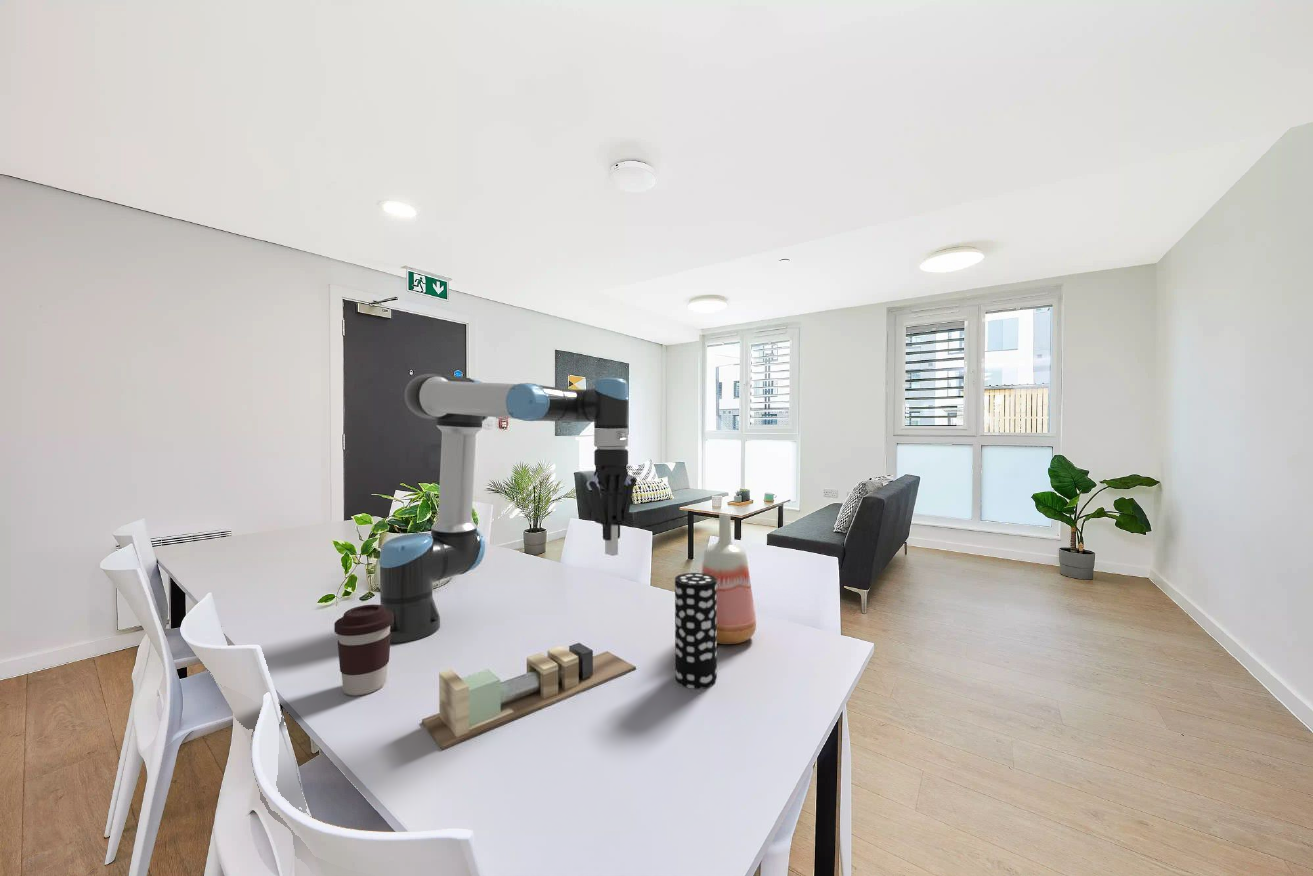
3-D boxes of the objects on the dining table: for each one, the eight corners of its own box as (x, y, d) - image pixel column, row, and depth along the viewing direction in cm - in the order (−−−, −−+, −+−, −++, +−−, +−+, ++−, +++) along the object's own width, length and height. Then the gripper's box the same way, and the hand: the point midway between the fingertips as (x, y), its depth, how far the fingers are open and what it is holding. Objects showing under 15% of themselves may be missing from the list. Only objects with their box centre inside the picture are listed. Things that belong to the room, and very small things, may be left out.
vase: (687, 644, 114) (687, 517, 114) (705, 622, 128) (705, 508, 128) (749, 654, 109) (749, 521, 109) (761, 630, 122) (760, 511, 122)
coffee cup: (367, 703, 89) (366, 621, 89) (321, 697, 91) (321, 617, 91) (405, 677, 99) (405, 603, 99) (363, 672, 101) (362, 599, 101)
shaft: (488, 700, 89) (488, 673, 89) (579, 666, 102) (579, 642, 102) (500, 712, 85) (500, 683, 85) (592, 675, 98) (592, 650, 98)
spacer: (454, 715, 84) (454, 680, 84) (488, 702, 88) (488, 669, 88) (465, 727, 81) (465, 691, 81) (500, 713, 85) (500, 679, 85)
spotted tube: (720, 671, 101) (720, 575, 101) (711, 691, 93) (711, 586, 93) (681, 665, 104) (681, 571, 103) (669, 684, 96) (669, 582, 96)
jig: (422, 722, 83) (421, 675, 83) (607, 653, 110) (607, 617, 110) (442, 750, 76) (442, 698, 76) (635, 669, 102) (635, 630, 102)
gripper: (596, 449, 102) (597, 562, 102) (644, 447, 110) (644, 552, 111) (577, 448, 107) (577, 556, 107) (623, 447, 116) (624, 546, 116)
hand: (611, 554), depth 109 cm, fingers closed
